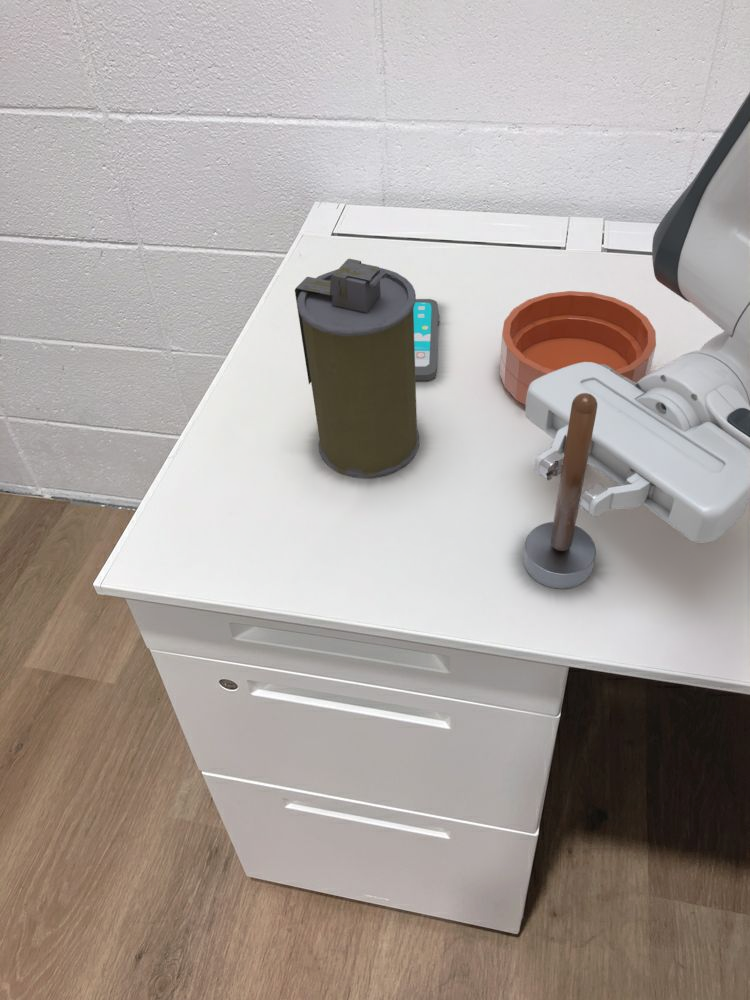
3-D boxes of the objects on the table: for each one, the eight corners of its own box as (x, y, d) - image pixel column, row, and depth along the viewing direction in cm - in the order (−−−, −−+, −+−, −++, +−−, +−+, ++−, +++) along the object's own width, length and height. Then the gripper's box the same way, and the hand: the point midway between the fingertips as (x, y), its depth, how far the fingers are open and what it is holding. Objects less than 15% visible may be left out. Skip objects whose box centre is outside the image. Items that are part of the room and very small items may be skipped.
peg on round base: (602, 550, 71) (640, 383, 58) (578, 599, 68) (613, 433, 54) (538, 527, 73) (561, 361, 60) (512, 573, 70) (530, 408, 56)
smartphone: (360, 373, 89) (370, 298, 99) (361, 380, 90) (370, 305, 100) (438, 373, 88) (439, 297, 98) (438, 380, 89) (439, 304, 99)
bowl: (662, 357, 90) (674, 311, 85) (618, 442, 81) (628, 396, 76) (531, 323, 95) (536, 279, 91) (476, 399, 86) (478, 353, 82)
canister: (435, 424, 84) (434, 250, 70) (393, 490, 78) (382, 314, 63) (343, 399, 88) (324, 230, 73) (296, 460, 81) (265, 288, 67)
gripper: (597, 329, 72) (478, 391, 67) (799, 450, 60) (673, 537, 55) (587, 384, 76) (476, 446, 71) (773, 508, 64) (655, 593, 59)
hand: (563, 487), depth 63 cm, fingers open, 4 cm apart
